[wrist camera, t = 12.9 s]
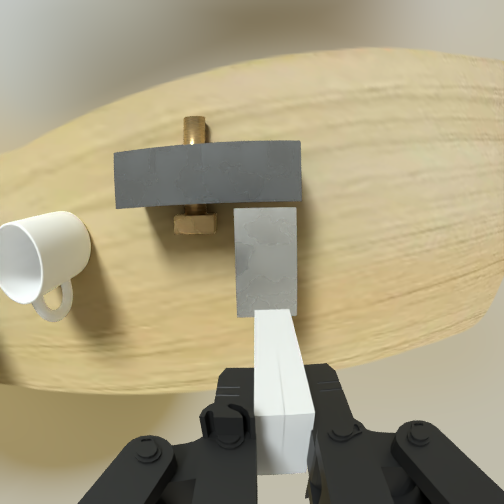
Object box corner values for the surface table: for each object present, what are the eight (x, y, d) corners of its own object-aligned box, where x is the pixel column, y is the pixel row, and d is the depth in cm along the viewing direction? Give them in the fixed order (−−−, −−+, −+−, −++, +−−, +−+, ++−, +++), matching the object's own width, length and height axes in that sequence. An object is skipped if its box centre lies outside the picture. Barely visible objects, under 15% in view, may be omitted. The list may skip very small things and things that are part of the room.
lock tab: (237, 314, 26) (237, 317, 25) (234, 208, 25) (233, 208, 25) (295, 313, 26) (296, 315, 25) (295, 207, 25) (296, 207, 24)
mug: (107, 300, 35) (65, 338, 25) (59, 304, 35) (14, 337, 25) (86, 203, 32) (31, 215, 22) (38, 216, 32) (-16, 230, 22)
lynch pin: (216, 229, 33) (213, 233, 30) (180, 230, 33) (174, 234, 30) (215, 119, 30) (212, 114, 28) (178, 121, 30) (172, 117, 28)
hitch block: (143, 202, 32) (116, 208, 25) (141, 157, 31) (113, 152, 24) (291, 196, 32) (301, 201, 25) (290, 149, 30) (300, 140, 24)
